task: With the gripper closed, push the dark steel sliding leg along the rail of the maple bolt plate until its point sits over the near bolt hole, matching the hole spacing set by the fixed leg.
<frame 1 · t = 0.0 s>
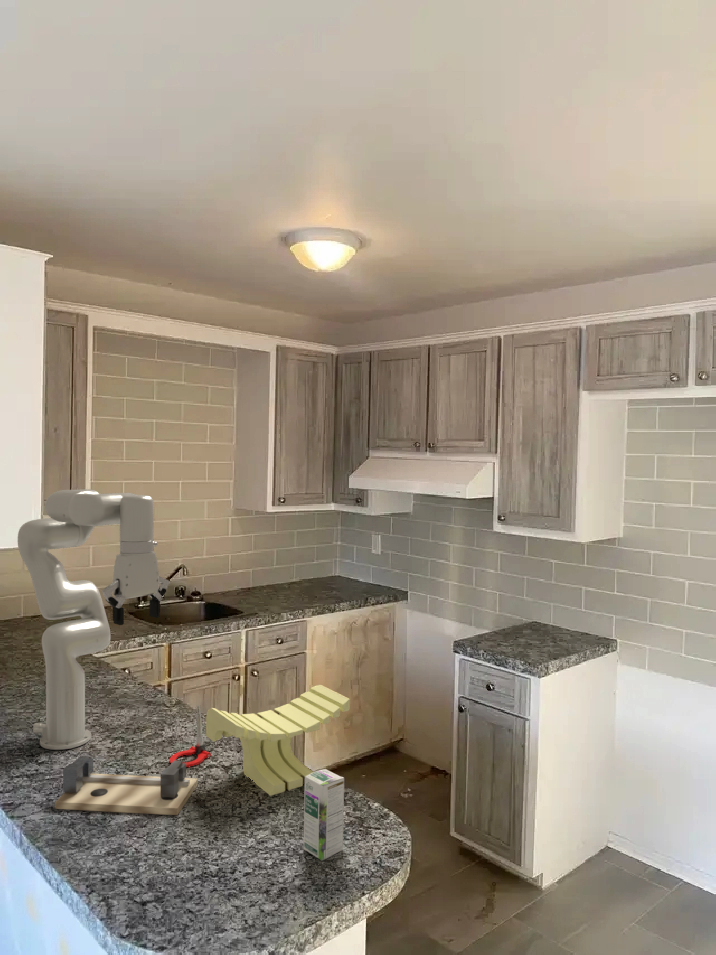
hand: (136, 620, 168), 37 cm above the worktop, tool pointing down, fingers open, 9 cm apart
bolt plate: (129, 796, 160), on the worktop
syrup box: (323, 850, 139), on the worktop
slatted curved stool: (278, 776, 171), on the worktop
tow hook: (188, 761, 179), on the worktop
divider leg: (78, 773, 161), point 4 cm above the worktop, slide at -6.0 cm
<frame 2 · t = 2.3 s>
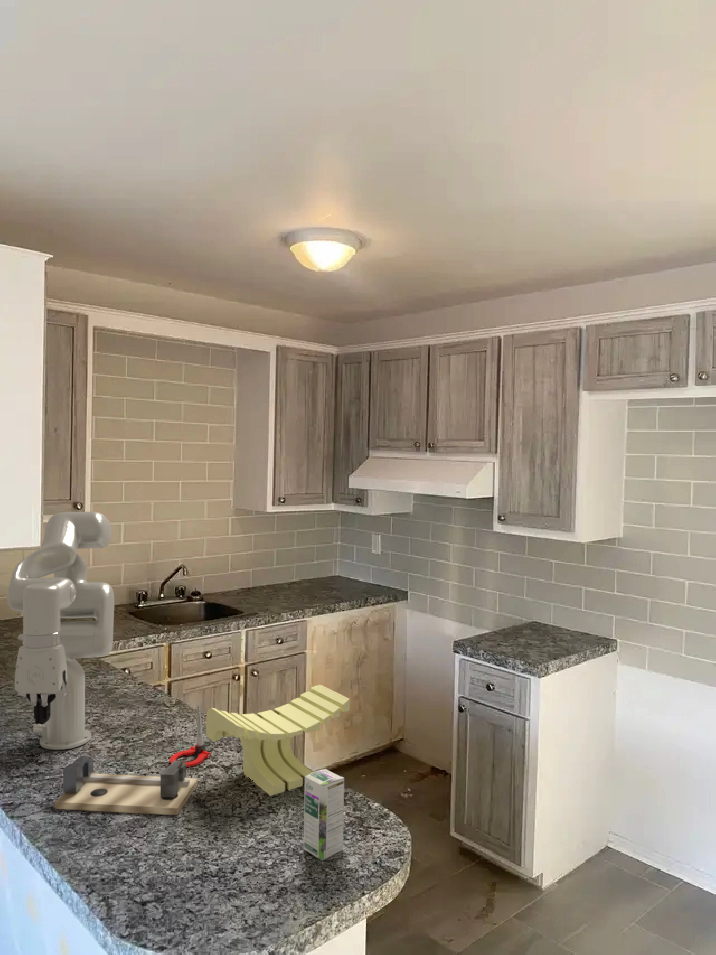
hand: (42, 722, 159), 17 cm above the worktop, tool pointing down, fingers closed
nothing on the worktop moved.
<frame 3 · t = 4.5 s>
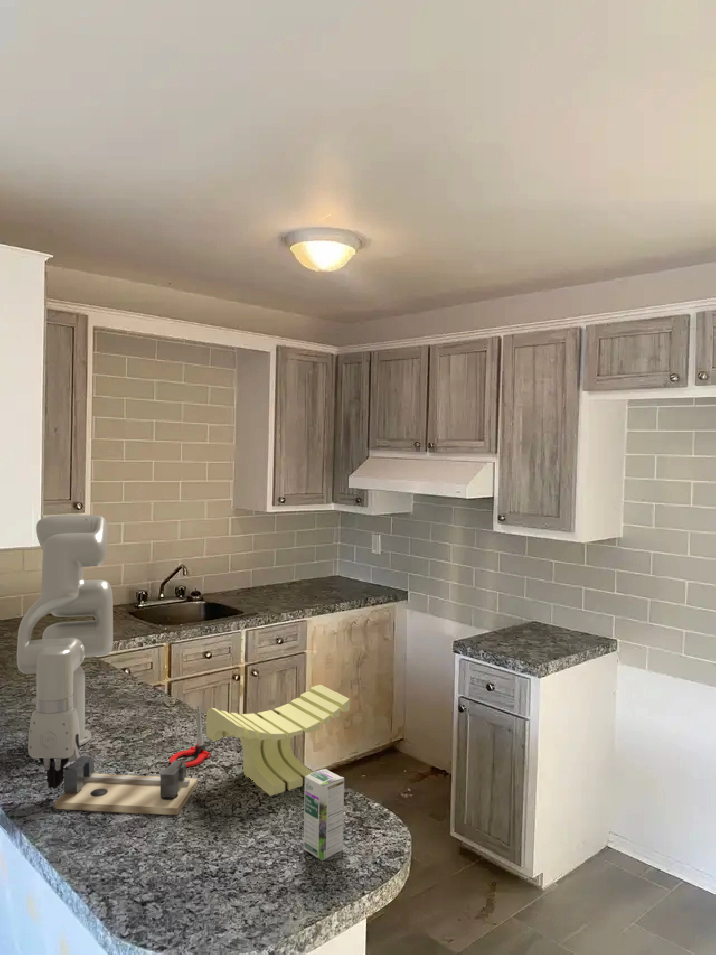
hand: (55, 785, 159), 3 cm above the worktop, tool pointing down, fingers closed
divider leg: (79, 773, 161), point 4 cm above the worktop, slide at -5.8 cm, touching gripper
everything else where it was.
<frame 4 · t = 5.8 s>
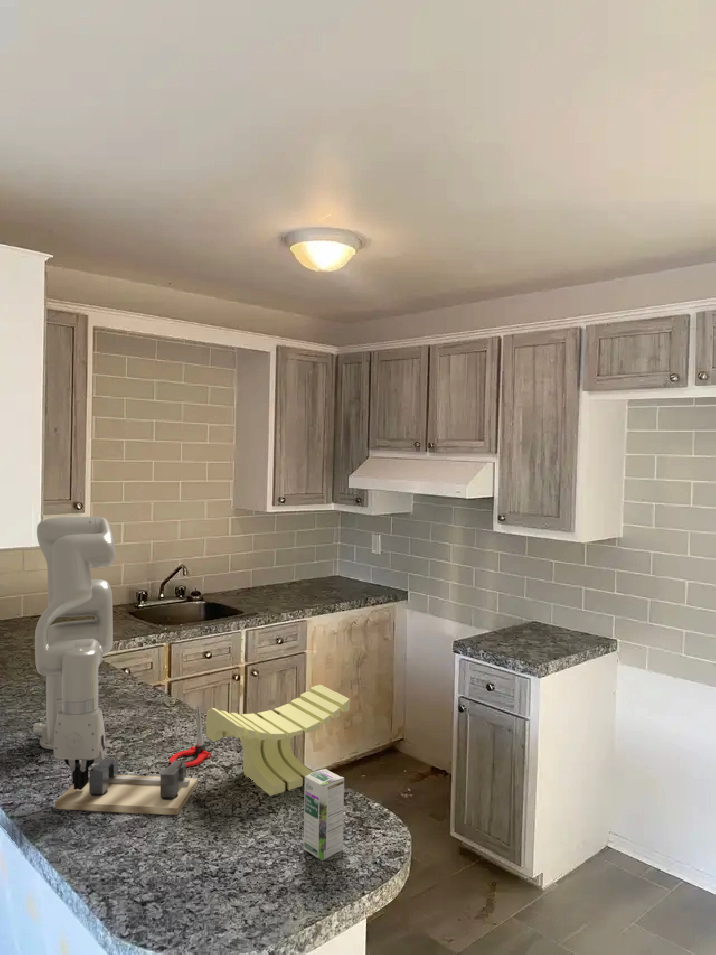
hand: (80, 786, 158), 3 cm above the worktop, tool pointing down, fingers closed
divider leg: (104, 774, 161), point 4 cm above the worktop, slide at 0.0 cm, touching gripper
everything else where it was.
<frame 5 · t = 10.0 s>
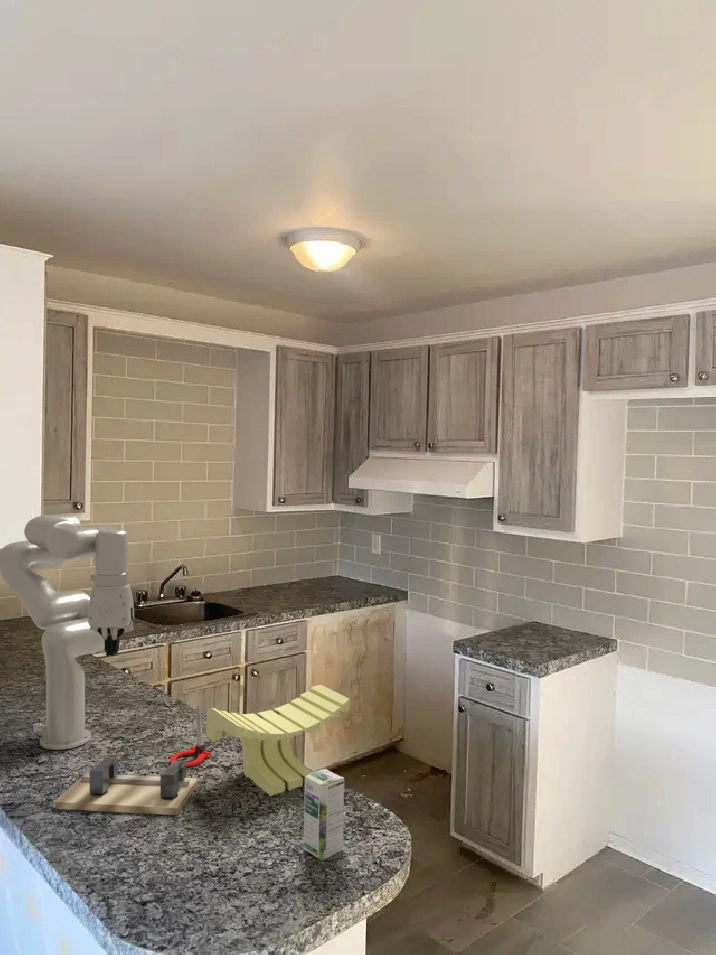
hand: (111, 654, 176), 27 cm above the worktop, tool pointing down, fingers closed
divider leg: (104, 774, 161), point 4 cm above the worktop, slide at 0.0 cm
everything else where it was.
at the end: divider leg slide at 0.0 cm; tow hook moved 0.4 cm from its start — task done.
